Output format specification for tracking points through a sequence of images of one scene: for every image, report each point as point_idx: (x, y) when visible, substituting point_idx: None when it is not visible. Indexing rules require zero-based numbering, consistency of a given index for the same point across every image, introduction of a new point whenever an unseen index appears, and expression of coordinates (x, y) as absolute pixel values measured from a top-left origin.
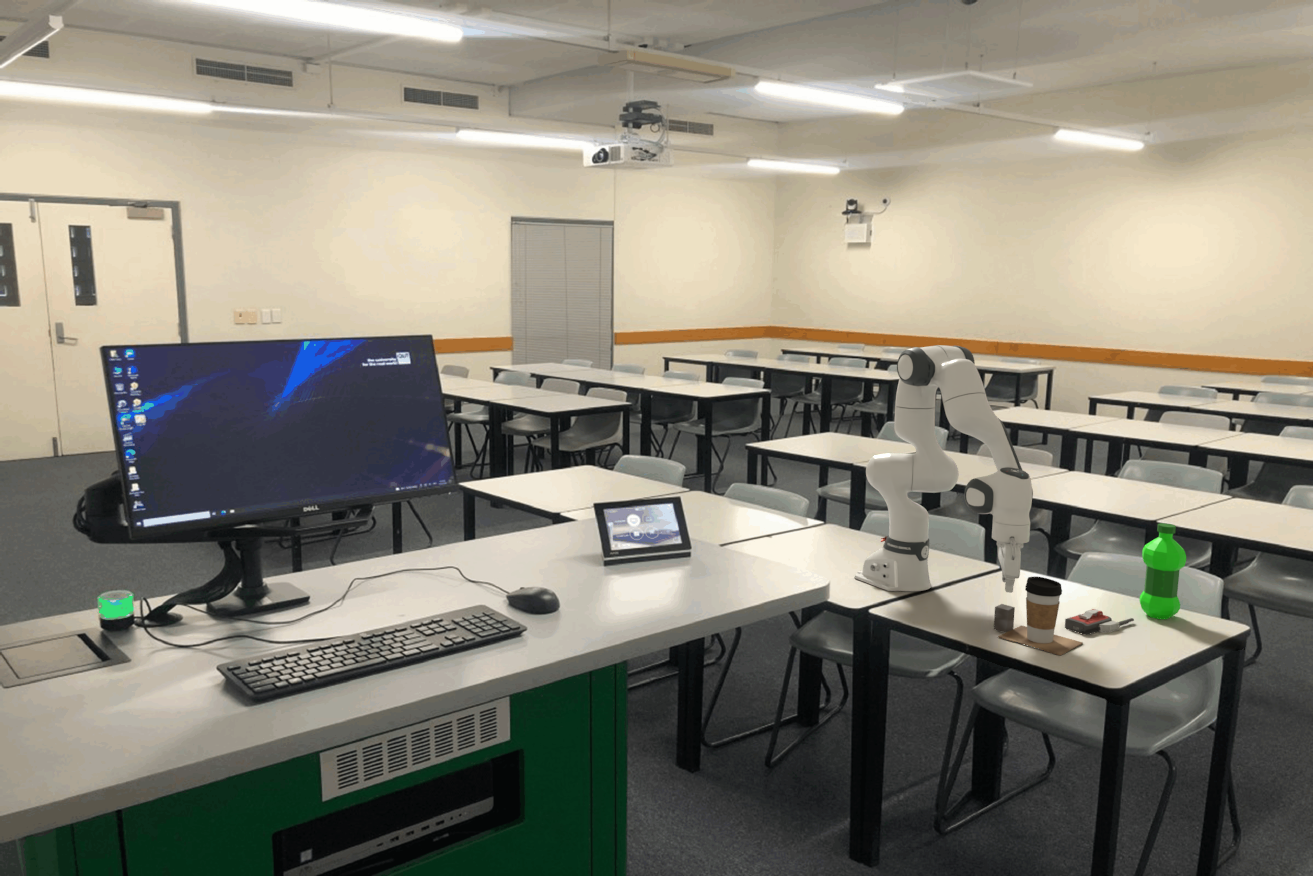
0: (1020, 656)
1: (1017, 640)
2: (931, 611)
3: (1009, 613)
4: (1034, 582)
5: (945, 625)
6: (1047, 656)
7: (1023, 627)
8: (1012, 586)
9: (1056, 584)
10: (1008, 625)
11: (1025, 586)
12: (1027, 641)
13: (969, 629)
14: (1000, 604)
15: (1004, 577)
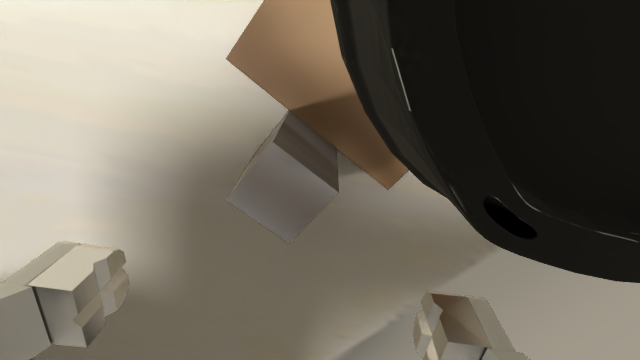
0: None
1: None
2: (157, 333)
3: (323, 170)
4: (599, 123)
5: (284, 317)
6: None
7: (255, 55)
8: (508, 349)
9: None
10: (324, 148)
11: (513, 221)
12: None
13: (308, 260)
14: (240, 210)
15: (96, 316)
